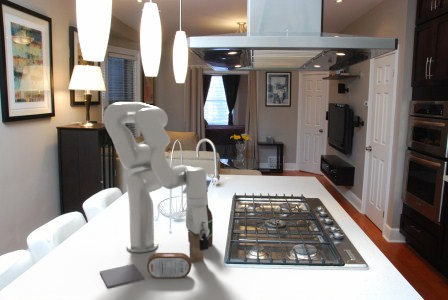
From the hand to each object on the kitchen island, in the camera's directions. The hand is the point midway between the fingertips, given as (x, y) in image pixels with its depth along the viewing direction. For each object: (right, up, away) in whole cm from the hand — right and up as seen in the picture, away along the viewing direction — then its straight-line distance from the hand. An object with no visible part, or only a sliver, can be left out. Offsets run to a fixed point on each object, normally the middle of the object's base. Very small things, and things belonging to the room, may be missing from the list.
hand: (198, 245), depth 137 cm
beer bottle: (+1, -4, +16) cm, 16 cm away
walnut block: (-1, -6, +1) cm, 6 cm away
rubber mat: (-25, -7, -12) cm, 29 cm away
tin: (-9, -8, -13) cm, 17 cm away
